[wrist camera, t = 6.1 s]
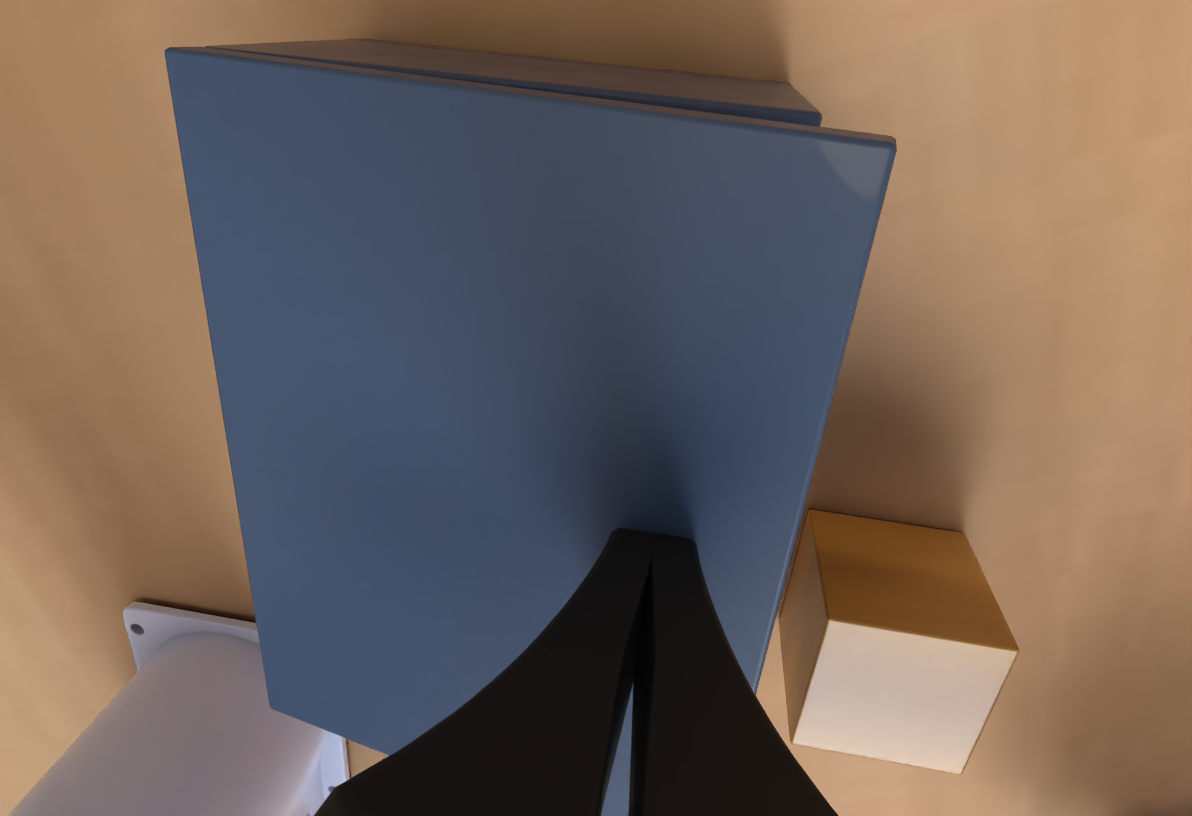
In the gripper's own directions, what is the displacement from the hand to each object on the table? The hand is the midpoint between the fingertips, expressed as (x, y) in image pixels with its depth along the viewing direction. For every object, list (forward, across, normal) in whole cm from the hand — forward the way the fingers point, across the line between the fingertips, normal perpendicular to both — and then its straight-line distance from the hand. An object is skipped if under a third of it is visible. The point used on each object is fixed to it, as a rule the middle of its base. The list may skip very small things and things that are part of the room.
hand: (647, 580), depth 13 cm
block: (+9, -6, +6) cm, 13 cm away
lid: (+1, +3, 0) cm, 3 cm away
